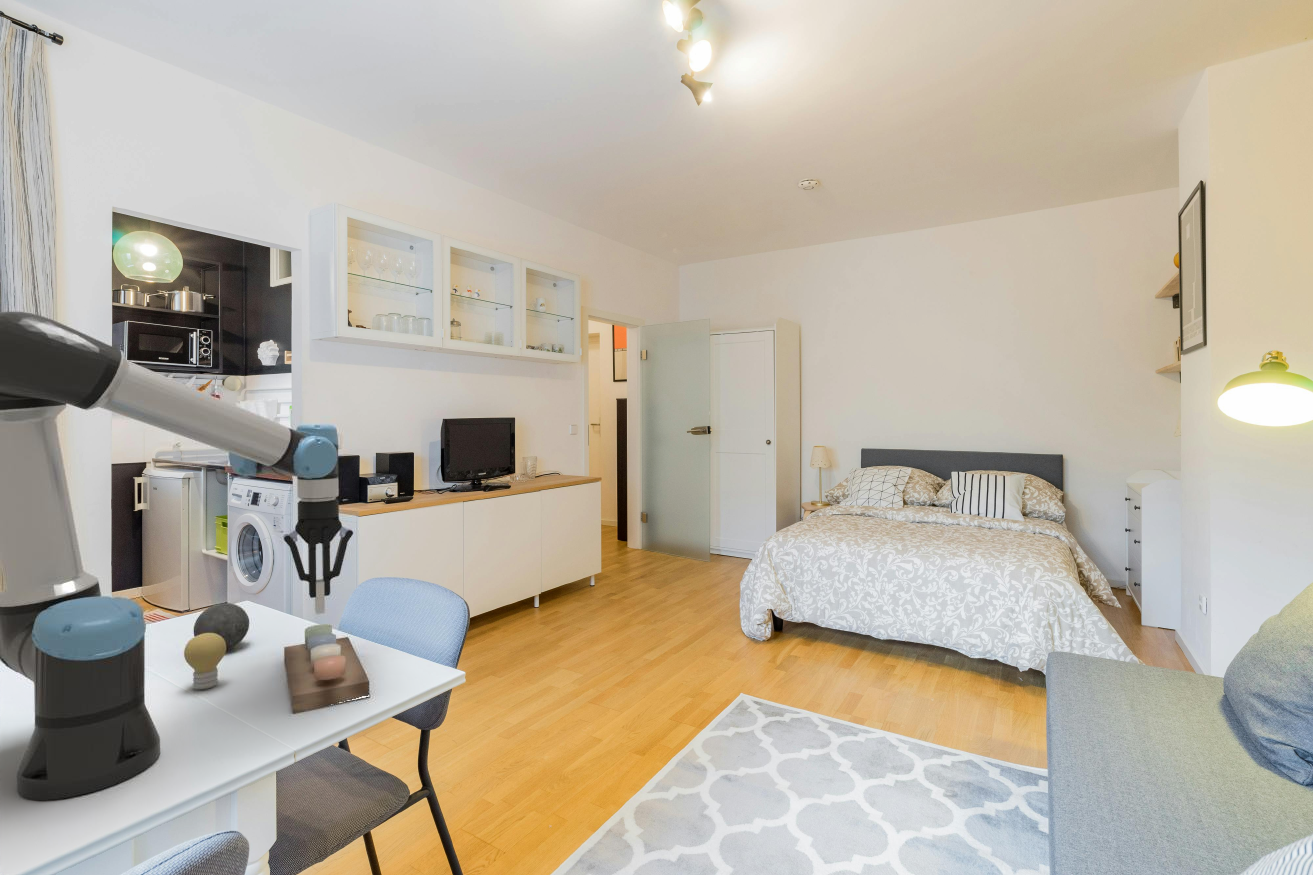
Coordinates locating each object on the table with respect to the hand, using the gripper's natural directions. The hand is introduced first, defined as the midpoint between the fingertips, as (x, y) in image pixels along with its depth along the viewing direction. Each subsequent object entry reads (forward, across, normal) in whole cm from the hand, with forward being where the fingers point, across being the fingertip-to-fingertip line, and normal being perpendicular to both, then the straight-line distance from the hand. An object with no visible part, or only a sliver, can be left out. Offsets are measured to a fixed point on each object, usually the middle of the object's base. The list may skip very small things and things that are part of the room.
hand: (319, 611), depth 132 cm
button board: (+10, 0, +11) cm, 15 cm away
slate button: (+6, 0, +7) cm, 9 cm away
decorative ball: (+10, +17, -18) cm, 27 cm away
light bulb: (+10, +19, +4) cm, 22 cm away
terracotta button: (+6, 0, +21) cm, 22 cm away
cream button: (+6, 0, +14) cm, 15 cm away
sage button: (+6, 0, 0) cm, 6 cm away
